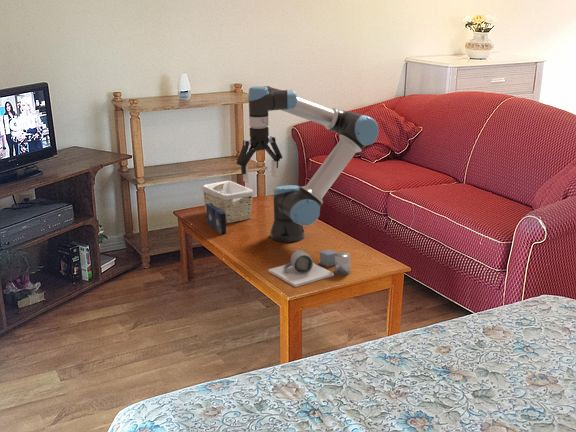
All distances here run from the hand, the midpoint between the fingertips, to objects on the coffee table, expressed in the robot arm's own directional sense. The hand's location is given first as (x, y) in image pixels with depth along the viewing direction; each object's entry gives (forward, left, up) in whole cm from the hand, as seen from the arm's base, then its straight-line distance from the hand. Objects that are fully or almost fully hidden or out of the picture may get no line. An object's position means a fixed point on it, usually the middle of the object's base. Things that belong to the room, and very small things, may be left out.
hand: (260, 179), depth 271 cm
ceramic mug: (+1, +27, -31) cm, 41 cm away
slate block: (-15, +26, -32) cm, 44 cm away
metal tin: (-14, +36, -32) cm, 50 cm away
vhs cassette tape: (0, -38, -32) cm, 50 cm away
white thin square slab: (0, +28, -32) cm, 42 cm away
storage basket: (-14, -52, -32) cm, 62 cm away
